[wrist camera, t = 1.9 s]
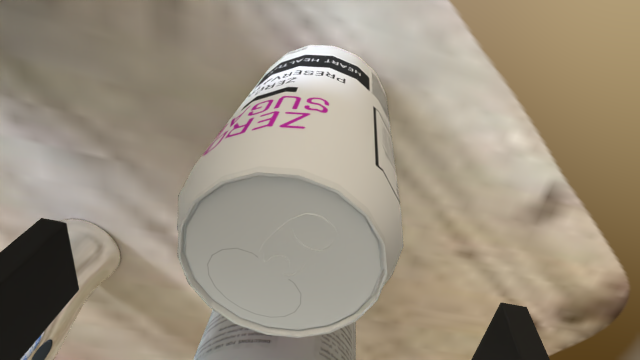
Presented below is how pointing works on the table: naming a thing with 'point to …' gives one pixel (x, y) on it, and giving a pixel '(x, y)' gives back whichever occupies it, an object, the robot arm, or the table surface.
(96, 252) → the beer glass
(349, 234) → the supplement can
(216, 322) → the supplement tub
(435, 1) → the table surface
